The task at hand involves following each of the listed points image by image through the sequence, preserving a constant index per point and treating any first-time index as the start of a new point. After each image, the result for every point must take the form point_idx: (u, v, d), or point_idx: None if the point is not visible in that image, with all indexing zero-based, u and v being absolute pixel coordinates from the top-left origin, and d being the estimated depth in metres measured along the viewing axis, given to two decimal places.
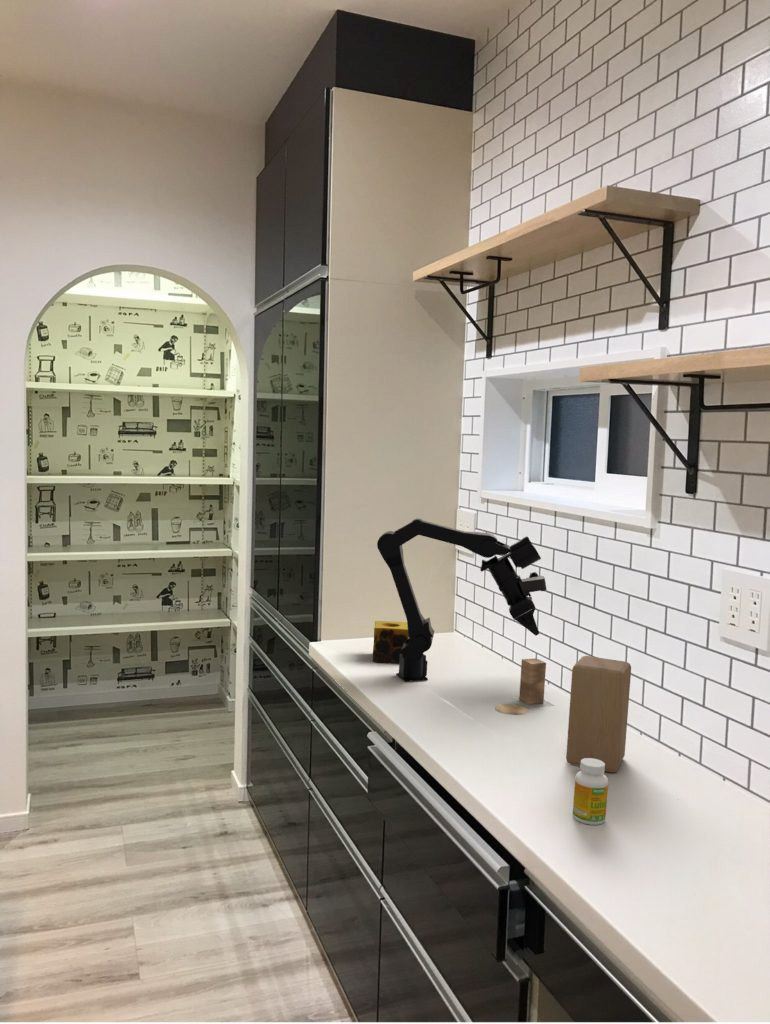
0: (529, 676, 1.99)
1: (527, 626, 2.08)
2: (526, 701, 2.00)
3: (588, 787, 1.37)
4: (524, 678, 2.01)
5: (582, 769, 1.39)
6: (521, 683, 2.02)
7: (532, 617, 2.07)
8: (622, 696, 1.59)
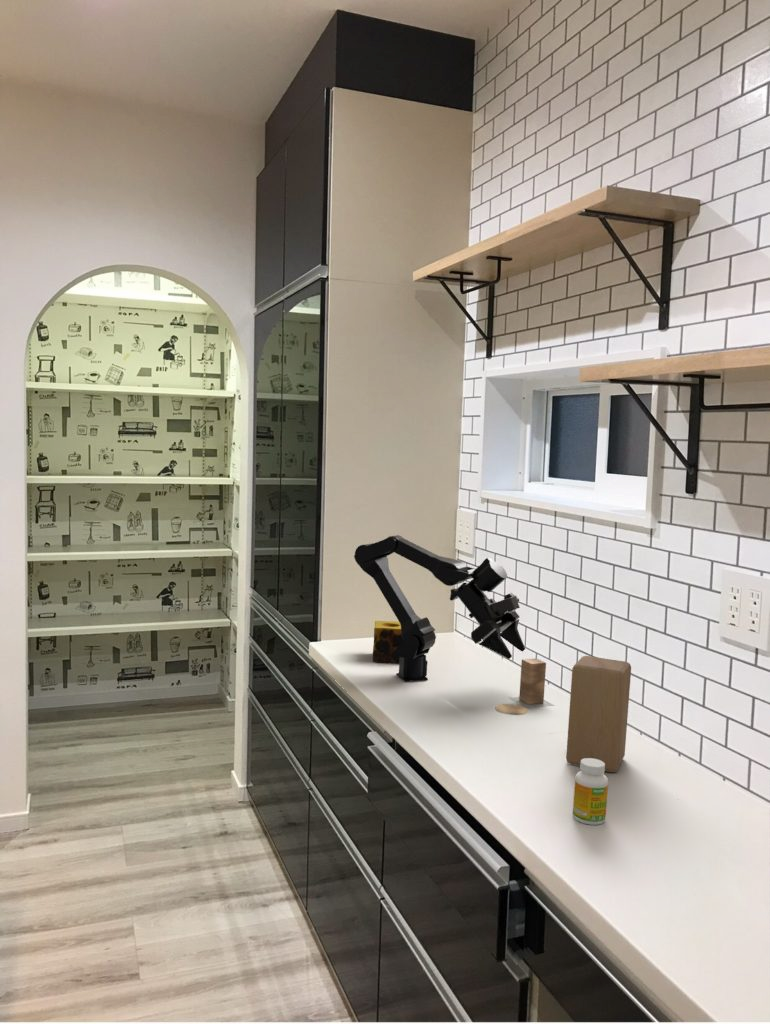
0: (529, 676, 1.99)
1: (496, 650, 2.00)
2: (526, 701, 2.00)
3: (588, 787, 1.37)
4: (524, 678, 2.01)
5: (582, 769, 1.39)
6: (521, 683, 2.02)
7: (498, 640, 1.99)
8: (622, 696, 1.59)
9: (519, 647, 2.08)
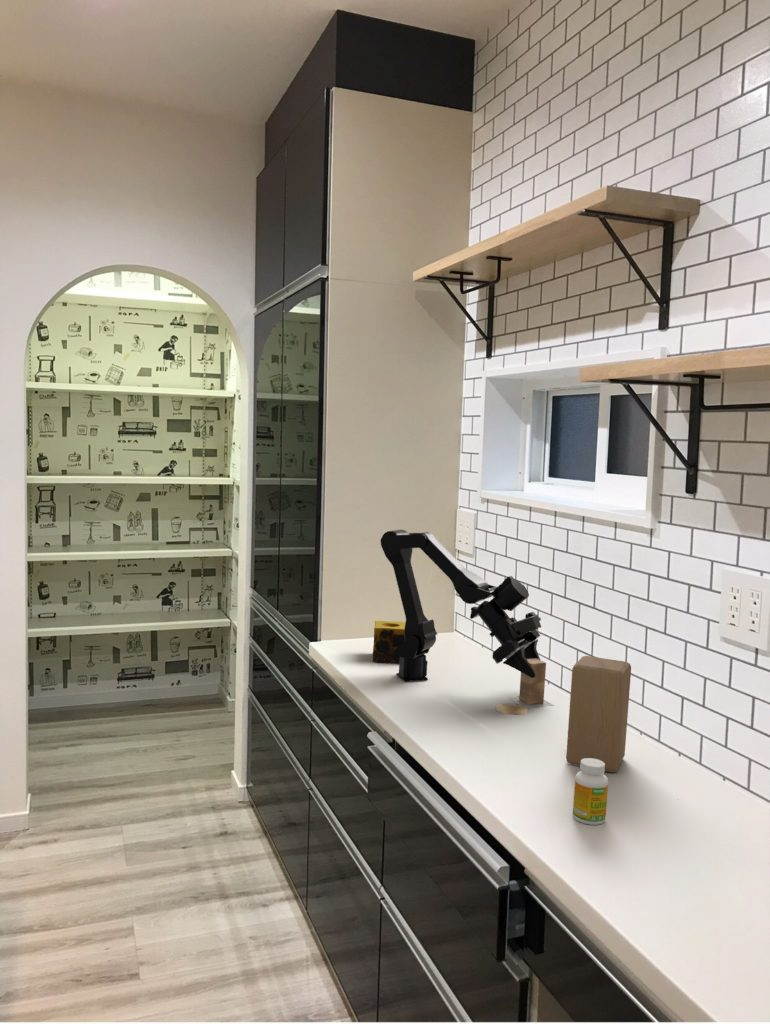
0: None
1: (520, 669, 1.99)
2: (526, 701, 2.00)
3: (588, 787, 1.37)
4: (524, 678, 2.01)
5: (582, 769, 1.39)
6: (521, 683, 2.02)
7: (522, 659, 1.98)
8: (622, 696, 1.59)
9: None
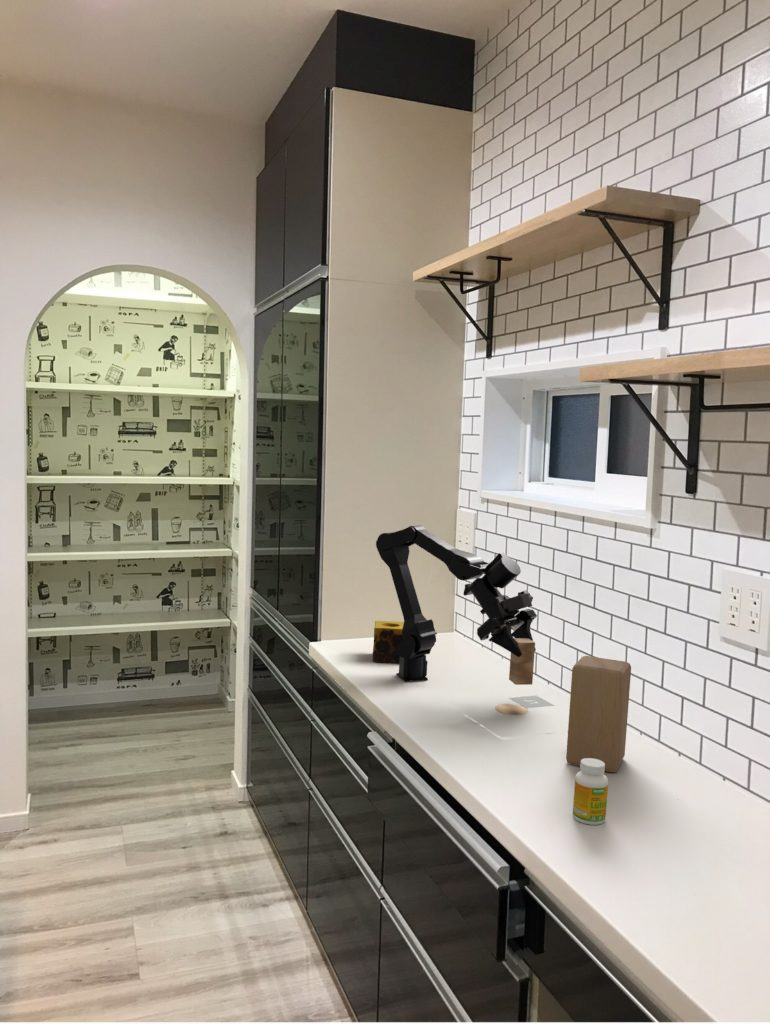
0: None
1: (506, 647, 1.94)
2: (514, 681, 1.95)
3: (588, 787, 1.37)
4: (513, 657, 1.96)
5: (582, 769, 1.39)
6: (511, 662, 1.98)
7: (508, 637, 1.93)
8: (622, 696, 1.59)
9: None
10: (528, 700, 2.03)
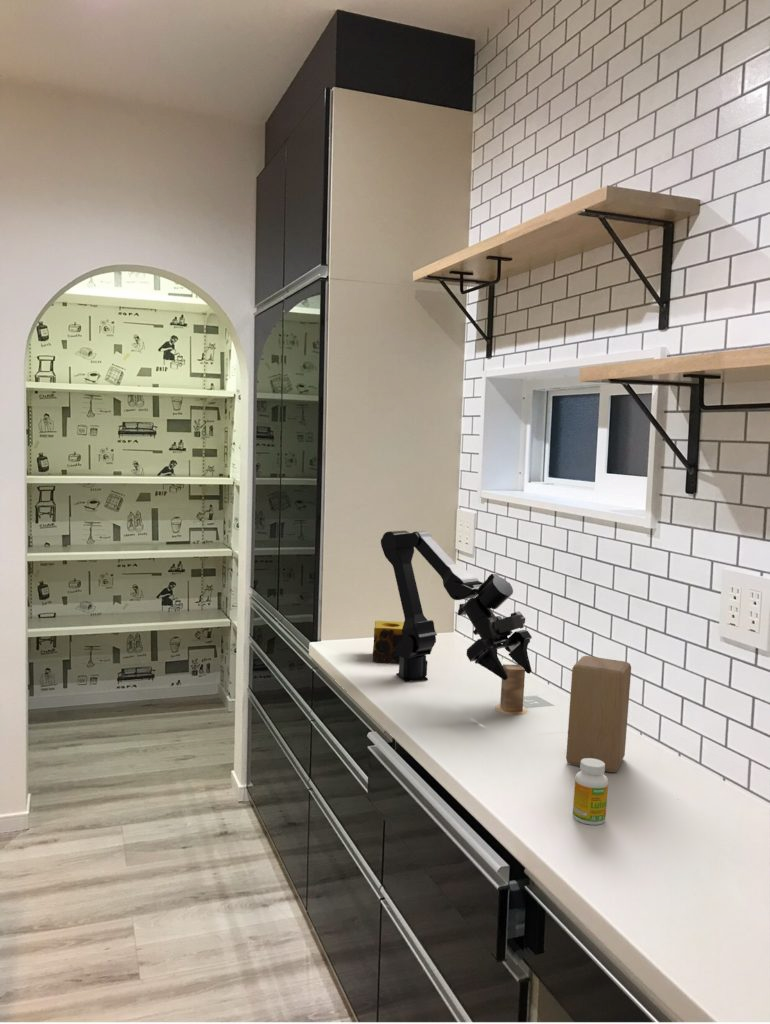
0: (506, 682, 1.93)
1: (492, 670, 1.92)
2: (503, 708, 1.94)
3: (588, 787, 1.37)
4: (503, 684, 1.95)
5: (582, 769, 1.39)
6: (501, 689, 1.96)
7: (493, 659, 1.91)
8: (622, 696, 1.59)
9: (525, 669, 1.98)
10: (528, 700, 2.03)
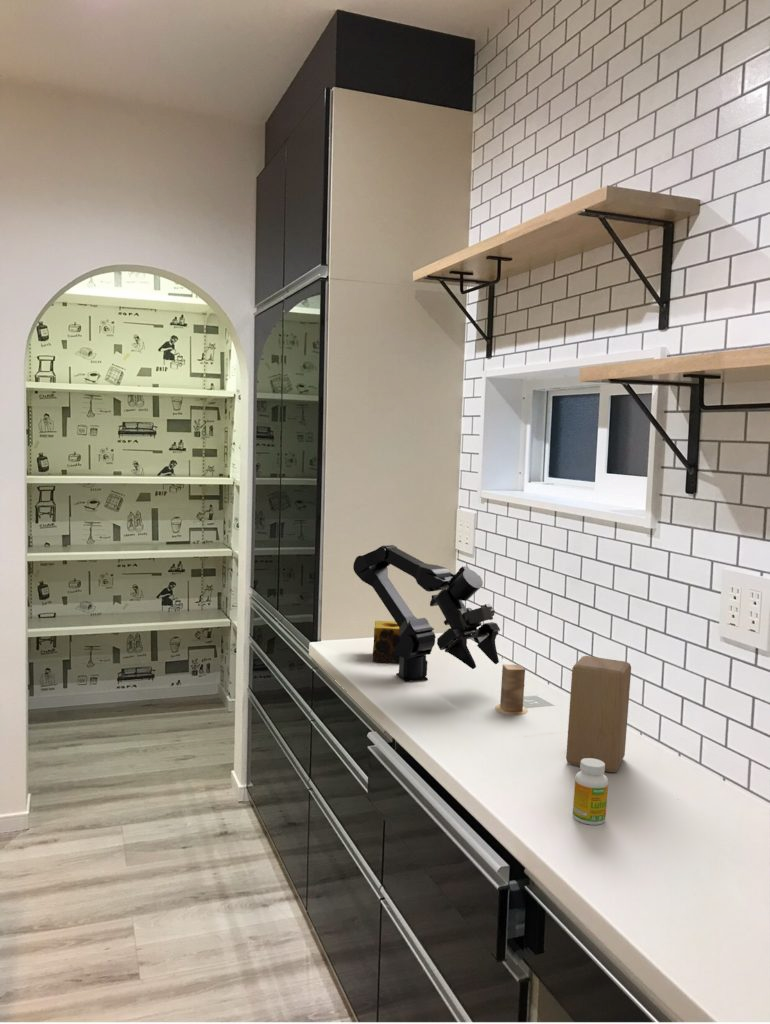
0: (506, 682, 1.93)
1: (461, 659, 1.98)
2: (503, 708, 1.94)
3: (589, 787, 1.37)
4: (503, 684, 1.95)
5: (582, 769, 1.39)
6: (501, 689, 1.96)
7: (463, 648, 1.97)
8: (622, 696, 1.59)
9: (493, 659, 2.04)
10: (528, 700, 2.03)
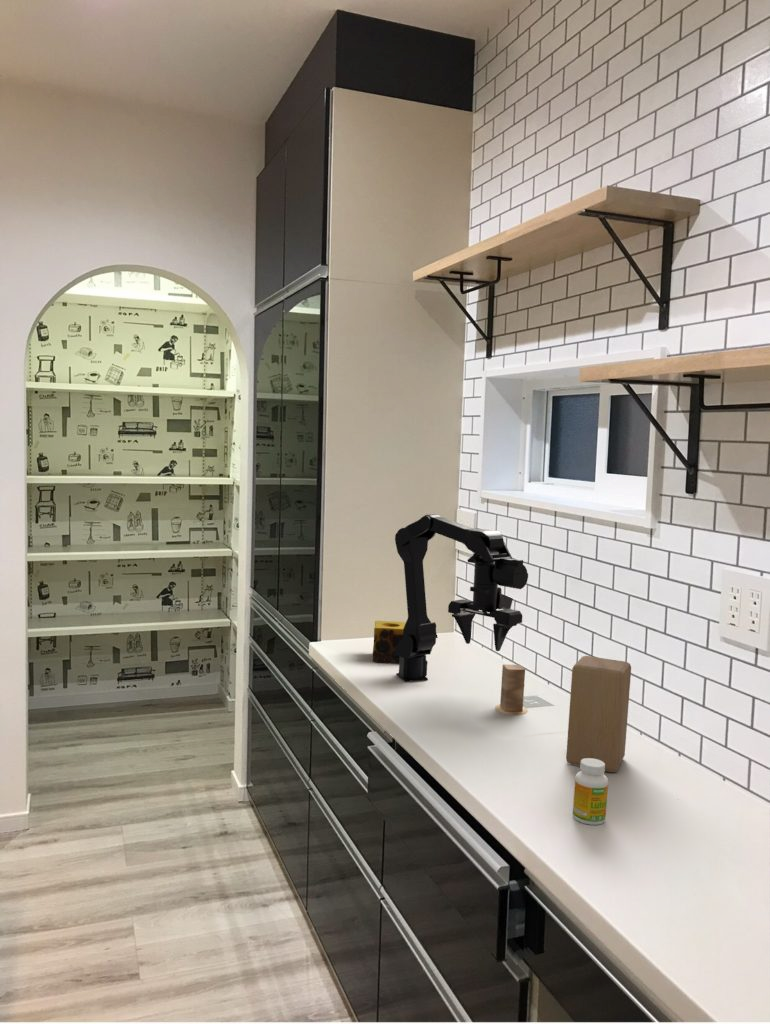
0: (506, 682, 1.93)
1: (499, 638, 1.96)
2: (503, 708, 1.94)
3: (588, 787, 1.37)
4: (503, 684, 1.95)
5: (582, 769, 1.39)
6: (501, 689, 1.96)
7: (507, 631, 1.97)
8: (622, 696, 1.59)
9: (468, 639, 2.04)
10: (528, 700, 2.03)
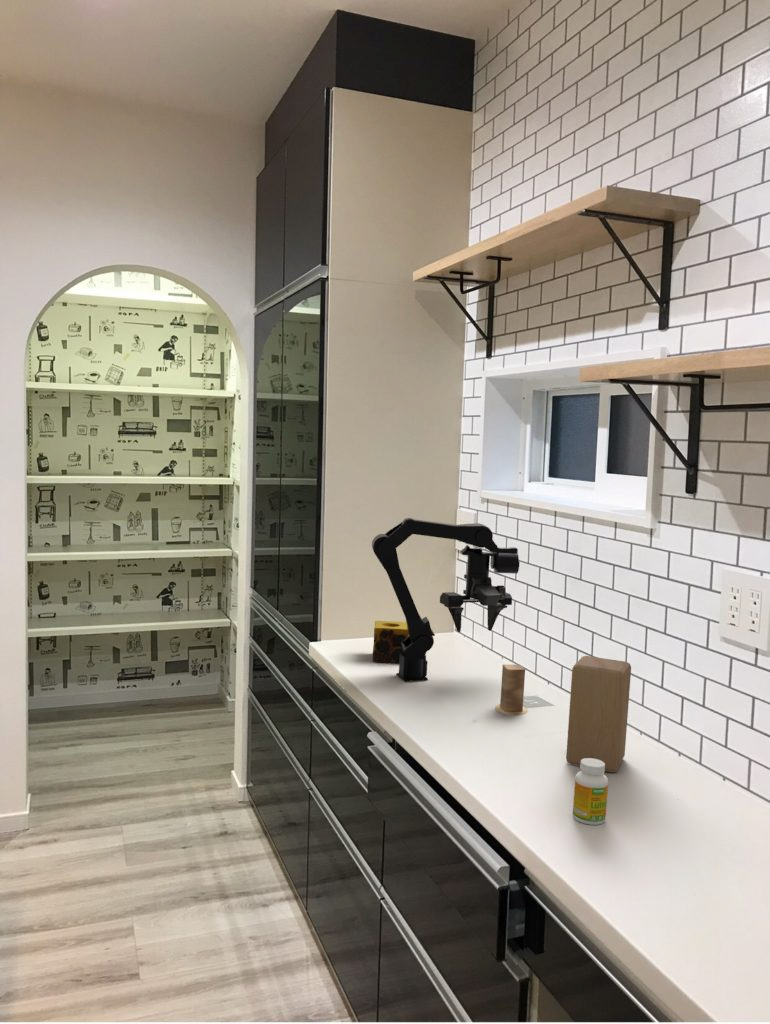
0: (506, 682, 1.93)
1: (453, 618, 2.17)
2: (503, 708, 1.94)
3: (588, 787, 1.37)
4: (503, 684, 1.95)
5: (582, 769, 1.39)
6: (501, 689, 1.96)
7: (456, 614, 2.15)
8: (622, 696, 1.59)
9: (488, 625, 2.20)
10: (528, 700, 2.03)
